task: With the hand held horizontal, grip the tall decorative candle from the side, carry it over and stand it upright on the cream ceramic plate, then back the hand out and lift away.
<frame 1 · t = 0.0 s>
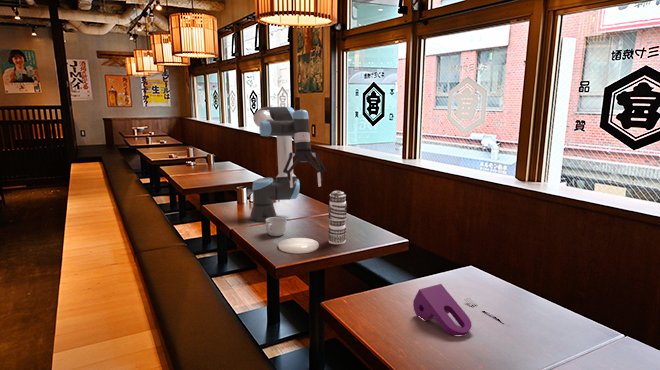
hand: (305, 186, 203), 28 cm above the table, tool tilted 20°, fingers open, 13 cm apart
decorative candle: (337, 241, 212), on the table
candle plate: (298, 246, 204), on the table
teacup: (274, 235, 220), on the table
mounting bracket: (443, 324, 136), on the table
fork: (493, 318, 140), on the table
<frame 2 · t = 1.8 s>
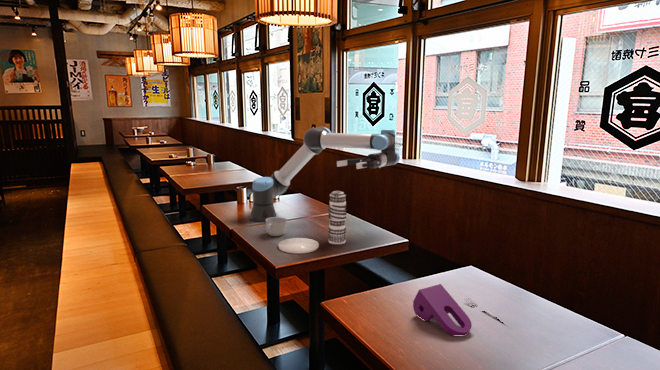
hand: (346, 165, 210), 37 cm above the table, tool horizontal, fingers open, 13 cm apart
nothing on the table moved.
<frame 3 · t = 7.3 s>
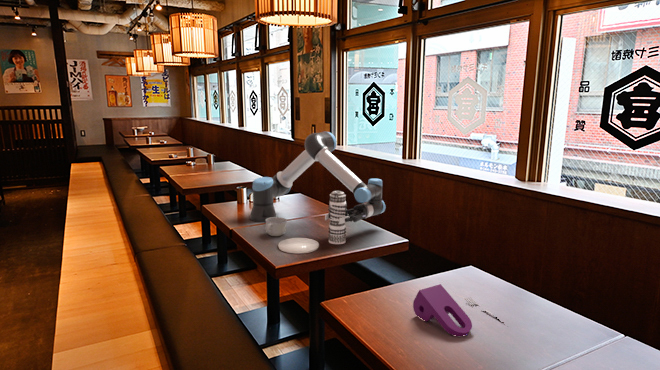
hand: (332, 219, 207), 12 cm above the table, tool horizontal, fingers closed on decorative candle, 8 cm apart
decorative candle: (337, 241, 212), on the table, touching gripper
everything else where it was.
when the fingers open (14 cm above the table, at t = 12.7 s): decorative candle stays where it is, resting on candle plate.
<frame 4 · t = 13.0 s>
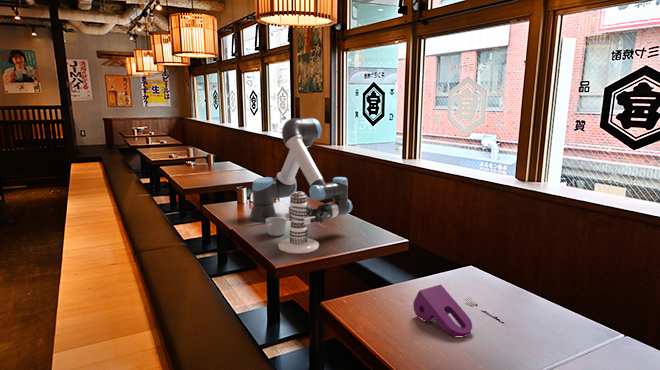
hand: (294, 218, 199), 14 cm above the table, tool horizontal, fingers open, 12 cm apart
decorative candle: (298, 244, 204), point 1 cm above the table, touching candle plate
everything else where it was.
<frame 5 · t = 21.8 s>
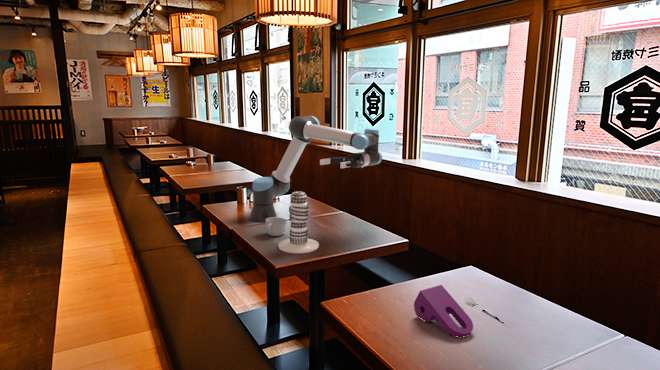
hand: (330, 163, 208), 38 cm above the table, tool horizontal, fingers open, 13 cm apart
nothing on the table moved.
at the end: decorative candle 0.1 cm from the candle plate (horizontally); decorative candle tilted 0°; decorative candle touching candle plate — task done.
